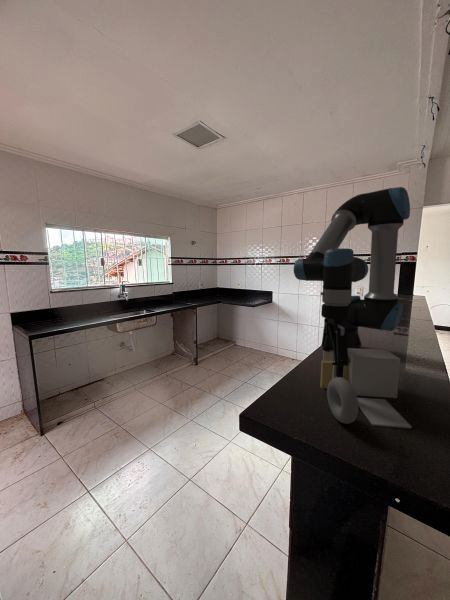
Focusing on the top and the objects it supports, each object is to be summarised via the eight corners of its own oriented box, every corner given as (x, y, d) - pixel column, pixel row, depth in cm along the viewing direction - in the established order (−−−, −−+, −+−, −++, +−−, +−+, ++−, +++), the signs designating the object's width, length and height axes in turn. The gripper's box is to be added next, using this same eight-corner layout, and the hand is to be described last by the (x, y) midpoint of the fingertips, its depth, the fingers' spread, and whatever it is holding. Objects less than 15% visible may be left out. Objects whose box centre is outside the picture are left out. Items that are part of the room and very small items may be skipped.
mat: (353, 398, 68) (353, 397, 68) (384, 400, 67) (385, 399, 67) (372, 425, 57) (372, 423, 57) (411, 428, 56) (411, 426, 56)
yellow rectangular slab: (320, 386, 76) (321, 360, 75) (359, 388, 75) (360, 362, 74) (321, 388, 75) (322, 362, 74) (361, 390, 73) (363, 364, 72)
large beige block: (338, 382, 78) (340, 347, 77) (382, 384, 77) (385, 349, 75) (347, 394, 71) (349, 356, 69) (397, 398, 69) (400, 359, 68)
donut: (323, 408, 64) (325, 370, 62) (336, 408, 64) (338, 370, 63) (344, 434, 54) (347, 389, 52) (360, 433, 54) (363, 389, 53)
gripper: (313, 299, 84) (311, 363, 86) (333, 310, 61) (329, 396, 64) (337, 299, 83) (334, 365, 85) (366, 310, 60) (360, 398, 63)
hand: (331, 378), depth 75 cm, fingers open, 10 cm apart
